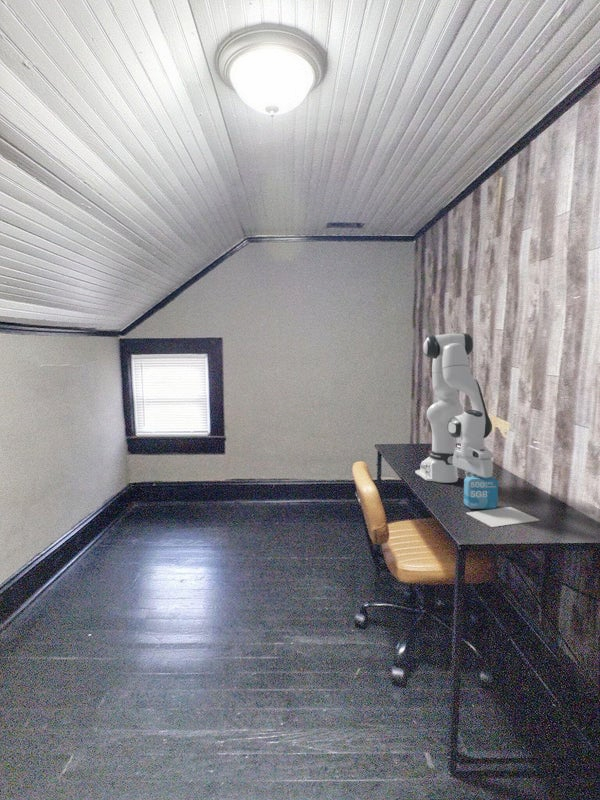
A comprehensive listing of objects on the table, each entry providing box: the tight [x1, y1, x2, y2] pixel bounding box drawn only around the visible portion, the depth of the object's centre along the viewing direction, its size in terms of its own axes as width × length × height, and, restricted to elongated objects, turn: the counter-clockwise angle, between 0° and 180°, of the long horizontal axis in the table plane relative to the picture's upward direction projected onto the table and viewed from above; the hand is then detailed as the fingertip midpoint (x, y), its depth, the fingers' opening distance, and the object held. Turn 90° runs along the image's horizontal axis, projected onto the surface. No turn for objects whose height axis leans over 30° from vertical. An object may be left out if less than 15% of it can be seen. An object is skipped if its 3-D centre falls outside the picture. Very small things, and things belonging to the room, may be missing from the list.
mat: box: [465, 506, 540, 528], centre depth 162 cm, size 14×22×1 cm, turn 108°
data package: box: [463, 476, 499, 510], centre depth 172 cm, size 12×4×12 cm, turn 92°
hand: (470, 482), depth 177 cm, fingers closed
